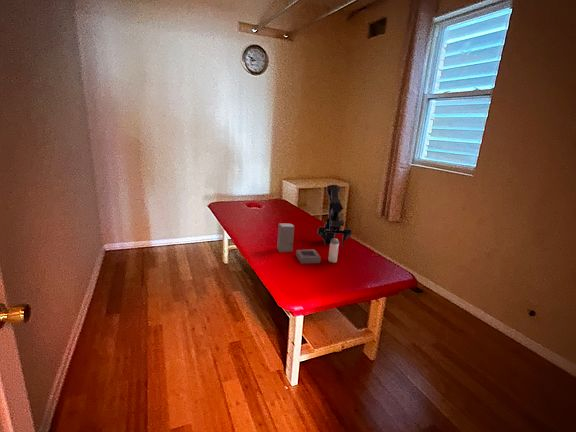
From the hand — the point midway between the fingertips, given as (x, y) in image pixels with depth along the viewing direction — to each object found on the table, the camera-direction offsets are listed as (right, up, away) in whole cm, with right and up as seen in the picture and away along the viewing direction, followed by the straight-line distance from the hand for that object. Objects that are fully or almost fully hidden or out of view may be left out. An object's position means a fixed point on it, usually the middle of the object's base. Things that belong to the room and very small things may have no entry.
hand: (334, 245), depth 175 cm
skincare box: (-28, -4, +13) cm, 31 cm away
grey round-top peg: (-1, -9, +2) cm, 9 cm away
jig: (-15, -8, +2) cm, 16 cm away
